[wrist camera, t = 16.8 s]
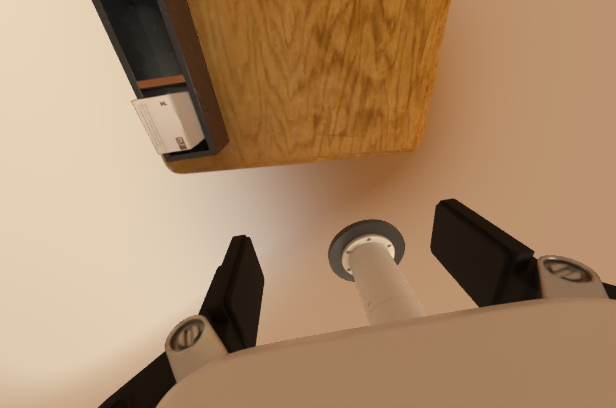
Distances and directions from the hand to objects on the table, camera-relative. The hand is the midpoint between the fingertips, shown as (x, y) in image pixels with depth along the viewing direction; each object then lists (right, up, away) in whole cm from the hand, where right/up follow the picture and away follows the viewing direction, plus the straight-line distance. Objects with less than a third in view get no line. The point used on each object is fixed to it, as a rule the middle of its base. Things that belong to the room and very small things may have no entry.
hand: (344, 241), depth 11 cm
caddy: (-20, +20, +22) cm, 36 cm away
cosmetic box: (-19, +16, +24) cm, 35 cm away
